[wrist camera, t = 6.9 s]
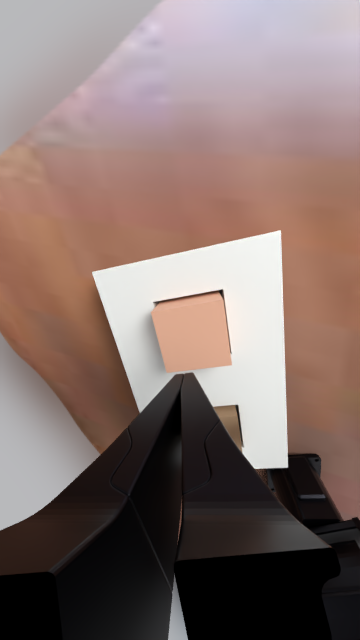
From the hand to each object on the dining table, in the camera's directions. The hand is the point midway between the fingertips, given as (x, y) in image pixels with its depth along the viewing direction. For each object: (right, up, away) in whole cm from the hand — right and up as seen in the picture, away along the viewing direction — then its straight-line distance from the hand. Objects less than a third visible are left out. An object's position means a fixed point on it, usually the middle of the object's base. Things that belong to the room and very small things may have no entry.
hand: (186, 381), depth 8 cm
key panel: (+2, -2, +12) cm, 12 cm away
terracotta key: (+1, +3, +9) cm, 9 cm away
